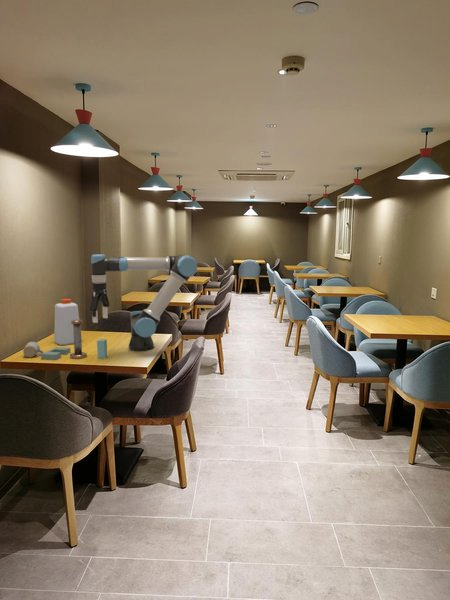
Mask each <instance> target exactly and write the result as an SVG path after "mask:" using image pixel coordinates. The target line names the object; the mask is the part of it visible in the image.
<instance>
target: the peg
mask: <svg viewBox="0 0 450 600" xmlns="http://www.w3.org/2000/svg"><path fill="white" fill-rule="evenodd" d="M96 347H97V359H106V358H107V357H108V342H107V339H105V338H100V339H98V340H97V341H96Z"/></svg>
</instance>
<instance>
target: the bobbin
mask: <svg viewBox="0 0 450 600" xmlns="http://www.w3.org/2000/svg"><path fill="white" fill-rule="evenodd" d="M71 324H73V331H74V344H73V346H74V352H73V353H72V352H71V353H69V358H70V359H73V360H81V359H85V358H87V356H88V354H87V352H84V351H83V346H82V345H83V344H82V341H81V337H82V324H83V319H79V320H71Z"/></svg>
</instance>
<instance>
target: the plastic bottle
mask: <svg viewBox="0 0 450 600" xmlns="http://www.w3.org/2000/svg"><path fill="white" fill-rule="evenodd" d="M71 320H80V315H79V306H78V304H77V303H75V302H72V299H70V298H62V299H60V303H56V304H55V305H54V327H53V328H54V330H53V331H54V334H53V335H54V336H53V341H54V342H55V343H56V344H57V345H58V346H59V345H60V346H69V345H74V331H73V324H71ZM82 337H83V336H81V342H82V340H83V339H82Z"/></svg>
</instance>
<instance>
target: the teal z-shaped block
mask: <svg viewBox="0 0 450 600" xmlns="http://www.w3.org/2000/svg"><path fill="white" fill-rule="evenodd" d="M40 354H41V353H40ZM68 354H69V355H70V354H72V352H71V347H63V346H62V347H61V346H59V347H58V346H55V347H53V348H51V349H49V350H47V351H44V353H43V354H41V356H40V357H41V360H45V361H46V360H47V361H48V360H49V361H51V360H52V361H57V360H59V359H61V358H62V356H63V355H64V356H67V355H68Z"/></svg>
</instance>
